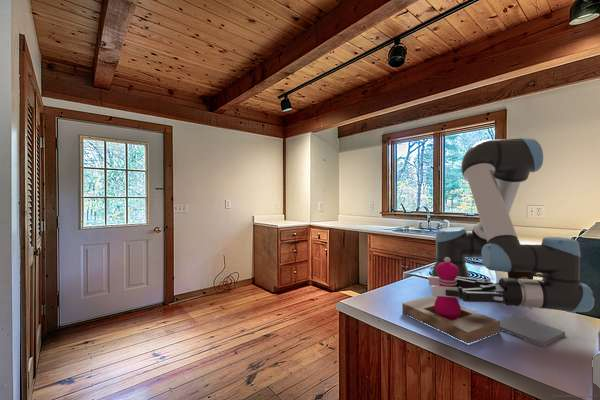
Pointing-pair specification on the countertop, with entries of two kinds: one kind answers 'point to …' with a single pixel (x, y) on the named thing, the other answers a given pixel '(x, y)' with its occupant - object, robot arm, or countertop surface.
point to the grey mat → (530, 330)
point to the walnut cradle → (464, 328)
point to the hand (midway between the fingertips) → (430, 285)
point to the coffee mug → (521, 275)
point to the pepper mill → (447, 275)
